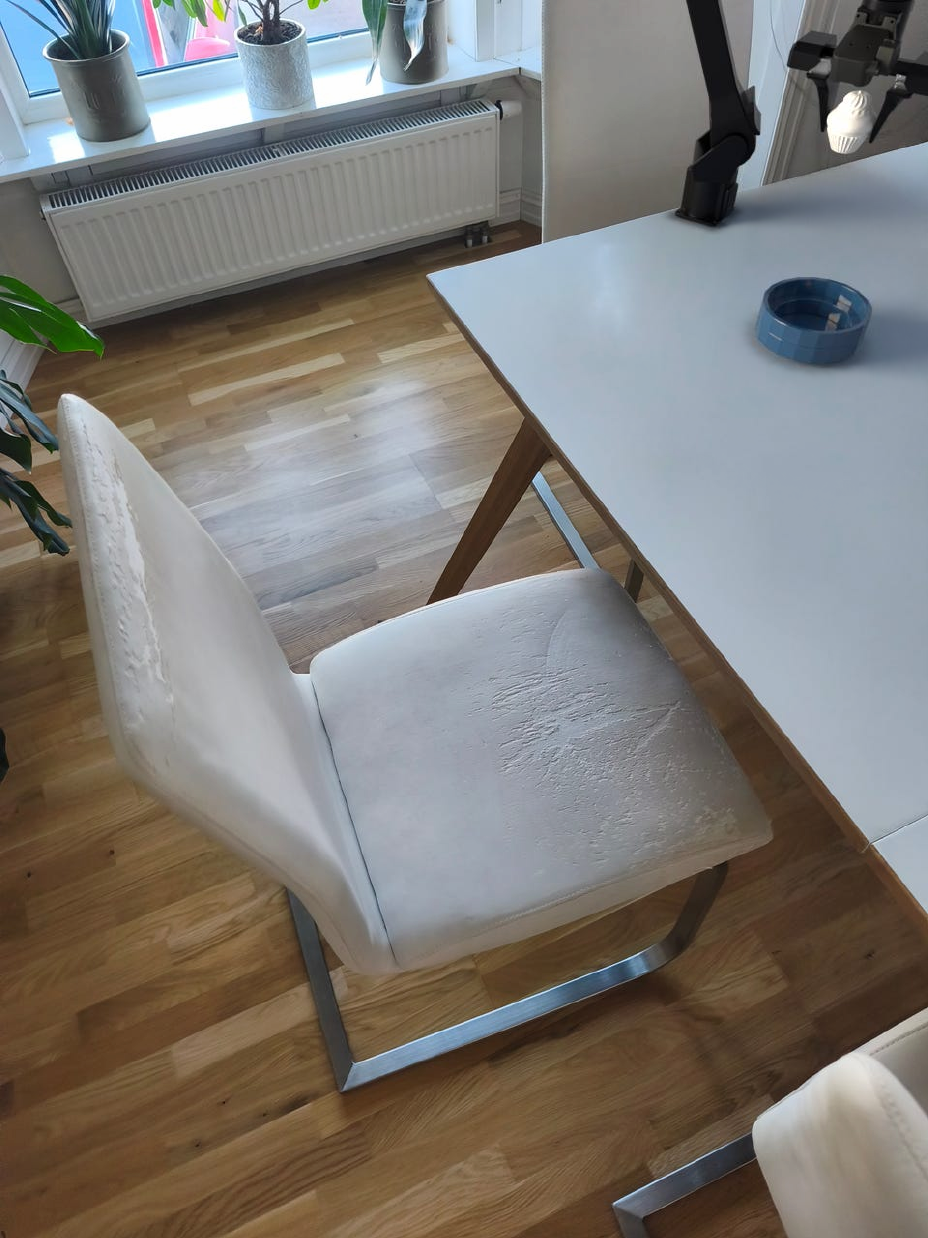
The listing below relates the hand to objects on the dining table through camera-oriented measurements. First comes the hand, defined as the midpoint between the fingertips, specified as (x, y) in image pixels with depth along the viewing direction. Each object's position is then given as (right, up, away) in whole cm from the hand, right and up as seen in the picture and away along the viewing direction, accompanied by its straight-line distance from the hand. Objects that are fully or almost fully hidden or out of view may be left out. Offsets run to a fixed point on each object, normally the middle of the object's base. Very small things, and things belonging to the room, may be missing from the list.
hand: (846, 136), depth 111 cm
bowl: (-9, -29, -9) cm, 32 cm away
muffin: (0, -1, +1) cm, 2 cm away
